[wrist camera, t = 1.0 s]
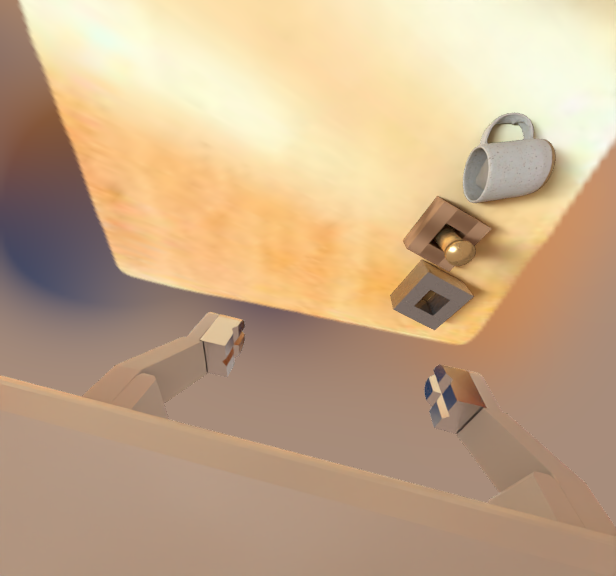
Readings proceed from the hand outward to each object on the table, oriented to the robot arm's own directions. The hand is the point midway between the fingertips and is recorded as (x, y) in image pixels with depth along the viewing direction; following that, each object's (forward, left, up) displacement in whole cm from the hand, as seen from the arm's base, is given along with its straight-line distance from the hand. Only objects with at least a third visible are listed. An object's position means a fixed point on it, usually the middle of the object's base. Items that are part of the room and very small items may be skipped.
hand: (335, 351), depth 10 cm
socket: (+10, +24, -38) cm, 46 cm away
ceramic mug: (-13, +17, -38) cm, 44 cm away
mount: (-1, +18, -38) cm, 42 cm away
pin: (-1, +18, -38) cm, 42 cm away
